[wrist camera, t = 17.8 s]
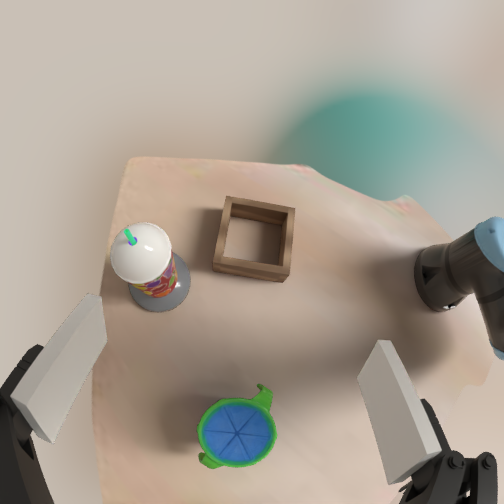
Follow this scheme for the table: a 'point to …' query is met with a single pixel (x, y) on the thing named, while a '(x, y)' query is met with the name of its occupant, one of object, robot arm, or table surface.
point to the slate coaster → (172, 298)
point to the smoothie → (145, 259)
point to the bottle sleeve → (259, 213)
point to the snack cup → (237, 431)
